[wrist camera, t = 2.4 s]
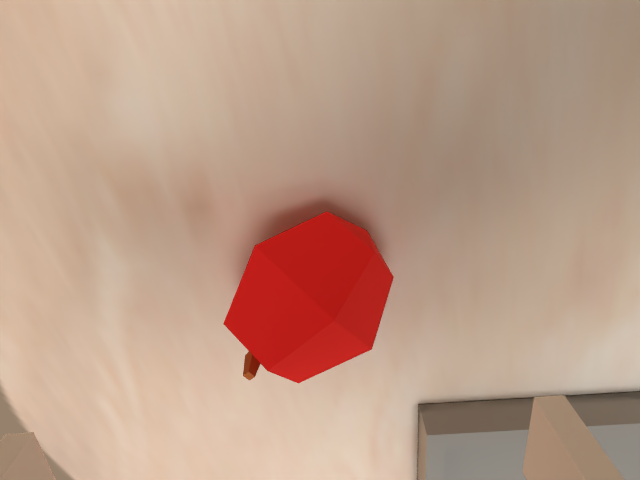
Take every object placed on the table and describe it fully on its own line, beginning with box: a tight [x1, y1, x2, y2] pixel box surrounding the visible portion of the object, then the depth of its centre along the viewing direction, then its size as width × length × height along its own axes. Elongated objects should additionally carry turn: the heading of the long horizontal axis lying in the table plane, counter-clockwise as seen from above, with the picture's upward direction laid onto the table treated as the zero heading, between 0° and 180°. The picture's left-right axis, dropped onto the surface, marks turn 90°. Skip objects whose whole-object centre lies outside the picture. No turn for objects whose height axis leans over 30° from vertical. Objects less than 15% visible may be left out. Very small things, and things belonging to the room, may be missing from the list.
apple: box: [224, 212, 393, 383], centre depth 19 cm, size 7×7×8 cm
